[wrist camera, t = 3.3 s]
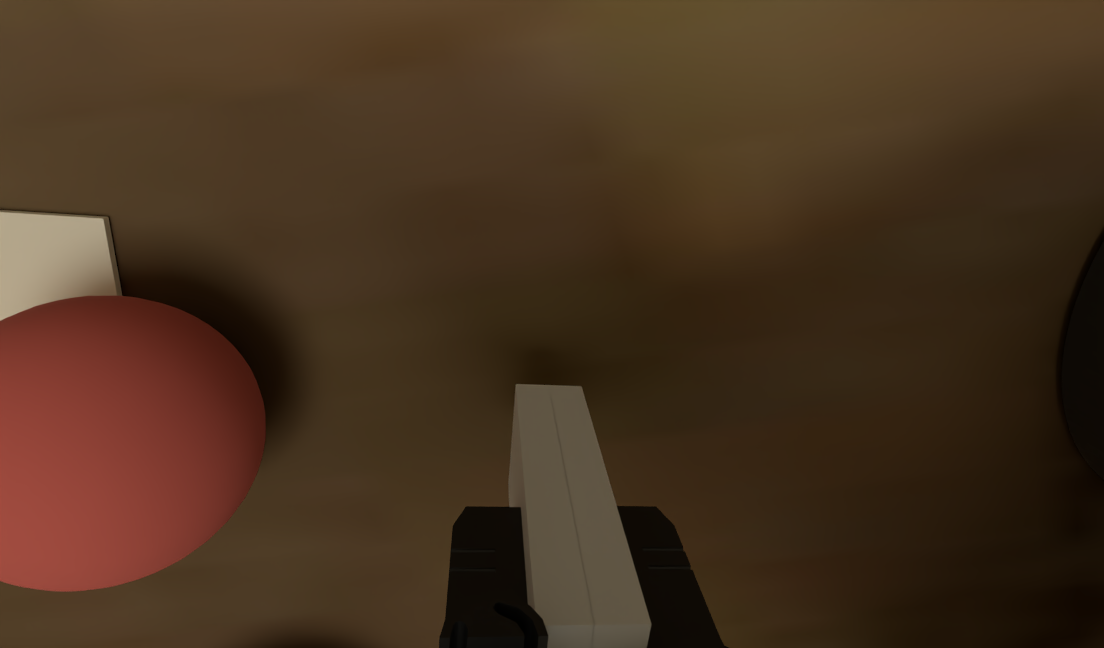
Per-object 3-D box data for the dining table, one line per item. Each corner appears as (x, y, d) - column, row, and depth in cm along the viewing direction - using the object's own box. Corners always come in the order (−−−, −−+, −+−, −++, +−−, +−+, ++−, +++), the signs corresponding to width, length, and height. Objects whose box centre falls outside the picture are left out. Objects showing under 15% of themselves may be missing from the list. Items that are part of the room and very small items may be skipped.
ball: (291, 268, 15) (171, 380, 9) (305, 474, 17) (215, 663, 12) (24, 253, 14) (-273, 363, 9) (74, 469, 17) (-138, 667, 11)
